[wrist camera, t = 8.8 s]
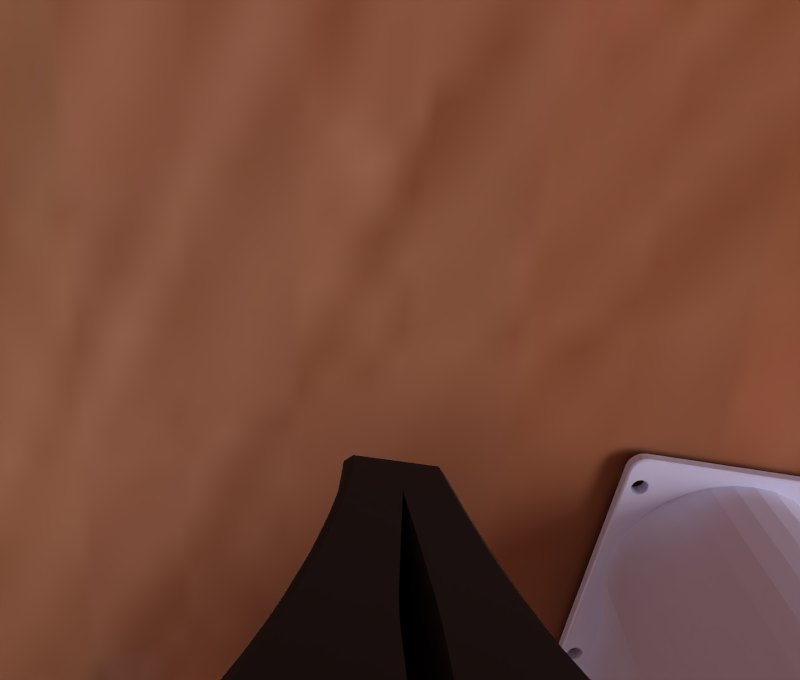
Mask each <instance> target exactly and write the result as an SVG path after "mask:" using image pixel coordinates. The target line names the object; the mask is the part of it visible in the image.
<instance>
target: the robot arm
mask: <svg viewBox="0 0 800 680" xmlns="http://www.w3.org/2000/svg"><path fill="white" fill-rule="evenodd" d="M638 480H643V483H642V484H641V485H639V486H636V487H632V484H633V483H634V482H636V481H638ZM572 648H576V649H574V650H570V649H572ZM221 680H800V477H799V476H793V475H786V474H779V473H773V472H766V471H760V470H753V469H746V468H740V467H733V466H726V465H720V464H713V463H706V462H700V461H693V460H686V459H680V458H673V457H666V456H660V455H653V454H638V455H635V456H633V457H632V458H631V459H629V460H628V462H627V464H626V465H625V468H624V471H623V473H622V476H621V479H620V481H619V484H618V487H617V489H616V492H615V495H614V497H613V500H612V503H611V505H610V508H609V511H608V513H607V516H606V519H605V521H604V524H603V527H602V529H601V532H600V534H599V537H598V540H597V542H596V545H595V548H594V550H593V553H592V556H591V558H590V561H589V564H588V566H587V569H586V572H585V574H584V577H583V580H582V582H581V585H580V588H579V590H578V593H577V596H576V598H575V601H574V604H573V606H572V609H571V612H570V614H569V617H568V620H567V622H566V625H565V628H564V630H563V633H562V636H561V638H560V641H559V644H558V642H557V641H556V640H555V639H554V638H553V636H552V635H551V634H550V633H549V632H548V630H547V629H546V628H545V626H544V625H543V624H542V623H541V621H540V620H539V619H538V617H537V616H536V615H535V613H534V612H533V611H532V609H531V608H530V607H529V605H528V604H527V603H526V602H525V600H524V599H523V597H522V596H521V595H520V593H519V592H518V590H517V589H516V588H515V586H514V585H513V583H512V582H511V581H510V579H509V578H508V576H507V575H506V573H505V572H504V570H503V569H502V567H501V566H500V564H499V563H498V561H497V560H496V558H495V557H494V555H493V554H492V553H491V551H490V550H489V548H488V547H487V545H486V543H485V542H484V540H483V539H482V537H481V536H480V534H479V532H478V531H477V529H476V528H475V526H474V524H473V523H472V521H471V519H470V518H469V516H468V515H467V513H466V511H465V510H464V508H463V506H462V504H461V503H460V501H459V499H458V498H457V496H456V494H455V492H454V491H453V489H452V487H451V486H450V484H449V482H448V480H447V479H446V477H445V475H444V474H443V472H442V471H441V469H440V468H439V467H437V466H430V465H422V464H415V463H407V462H400V461H393V460H385V459H378V458H370V457H363V456H355V455H353V456H351V457H350V458H348V459H346V460H345V461H344V463H343V469H342V474H341V479H340V485H339V490H338V493H337V496H336V498H335V501H334V503H333V506H332V508H331V511H330V513H329V515H328V517H327V519H326V521H325V523H324V526H323V528H322V530H321V532H320V534H319V536H318V538H317V540H316V542H315V544H314V546H313V548H312V549H311V551H310V553H309V555H308V557H307V558H306V560H305V562H304V563H303V565H302V566H301V568H300V570H299V571H298V573H297V575H296V576H295V578H294V580H293V581H292V583H291V585H290V586H289V588H288V590H287V591H286V593H285V594H284V596H283V597H282V599H281V600H280V602H279V603H278V605H277V606H276V608H275V609H274V611H273V612H272V614H271V615H270V617H269V618H268V619H267V621H266V622H265V624H264V625H263V626H262V628H261V629H260V630H259V632H258V633H257V634H256V636H255V637H254V639H253V640H252V641H251V643H250V644H249V645H248V647H247V648H246V649H245V650H244V652H243V653H242V654H241V656H240V657H239V658H238V659H237V660H236V662H235V663H234V664H233V665H232V667H231V668H230V669H229V670H228V671H227V673H226V674H225V675H224V676H223V678H222V679H221Z"/></svg>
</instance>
